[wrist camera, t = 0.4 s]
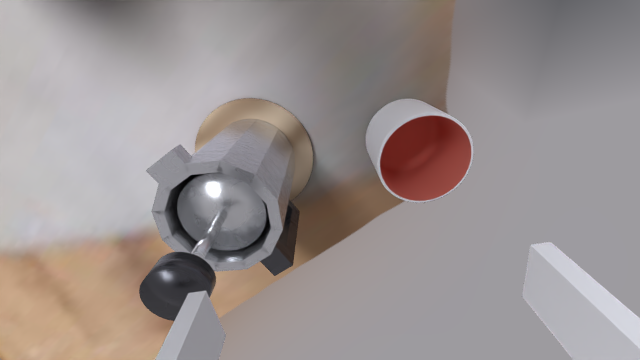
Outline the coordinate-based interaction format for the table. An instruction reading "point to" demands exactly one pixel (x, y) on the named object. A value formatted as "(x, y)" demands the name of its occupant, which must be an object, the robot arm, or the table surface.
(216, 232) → the plunger
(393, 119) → the cup
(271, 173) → the carafe
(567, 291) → the robot arm
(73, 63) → the table surface
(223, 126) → the trivet
